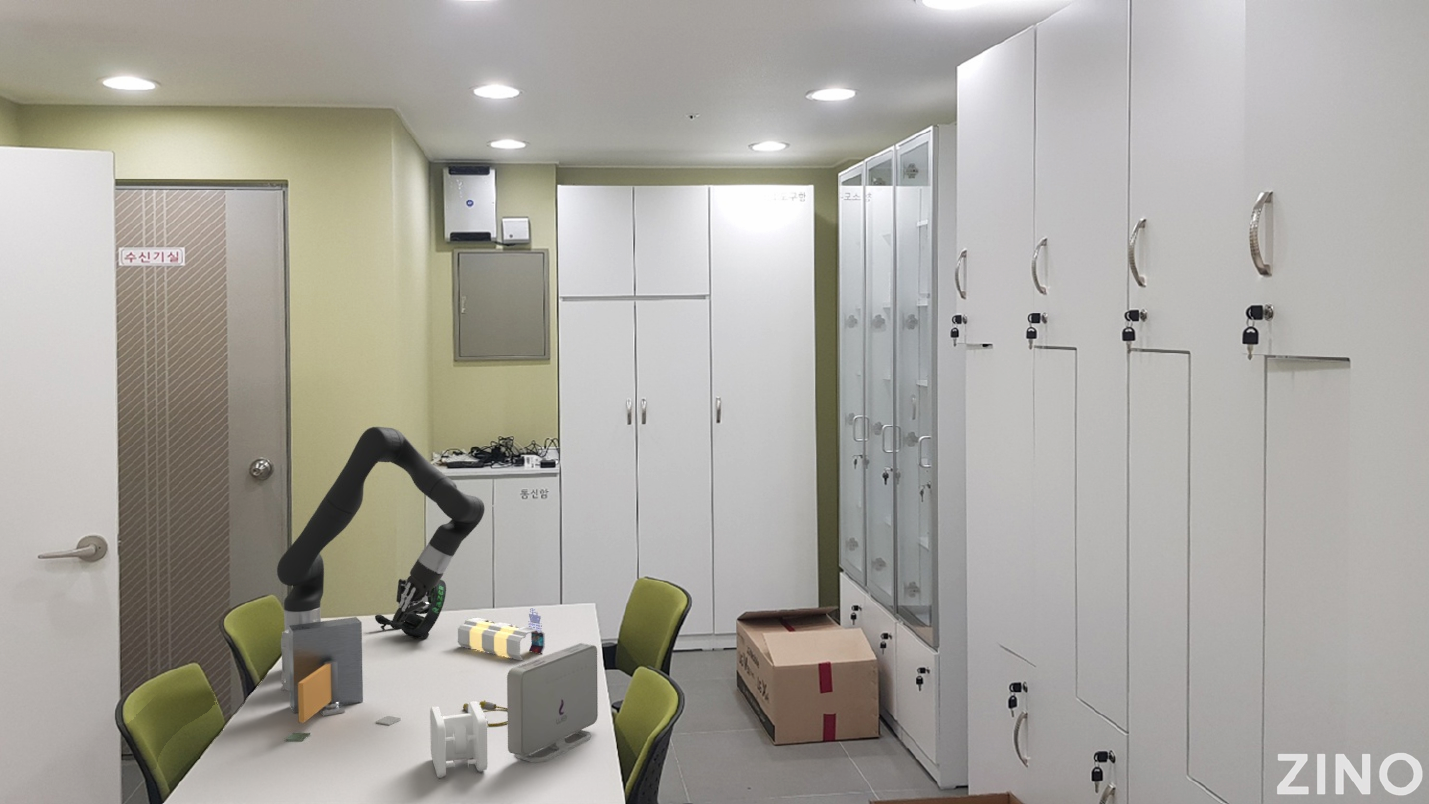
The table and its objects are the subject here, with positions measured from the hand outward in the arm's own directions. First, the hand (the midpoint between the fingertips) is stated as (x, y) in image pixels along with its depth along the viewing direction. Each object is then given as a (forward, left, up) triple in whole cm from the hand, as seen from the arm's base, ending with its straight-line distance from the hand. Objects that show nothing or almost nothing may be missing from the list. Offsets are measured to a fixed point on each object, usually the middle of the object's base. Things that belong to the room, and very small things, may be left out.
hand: (396, 622), depth 263 cm
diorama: (+8, +42, -19) cm, 47 cm away
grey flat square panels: (-6, -18, -18) cm, 26 cm away
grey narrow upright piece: (-24, 0, -18) cm, 30 cm away
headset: (-25, +50, -18) cm, 58 cm away
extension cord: (+30, -9, -19) cm, 37 cm away
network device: (+52, -23, -18) cm, 60 cm away
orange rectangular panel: (-7, -22, -16) cm, 28 cm away
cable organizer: (+37, -38, -19) cm, 57 cm away
